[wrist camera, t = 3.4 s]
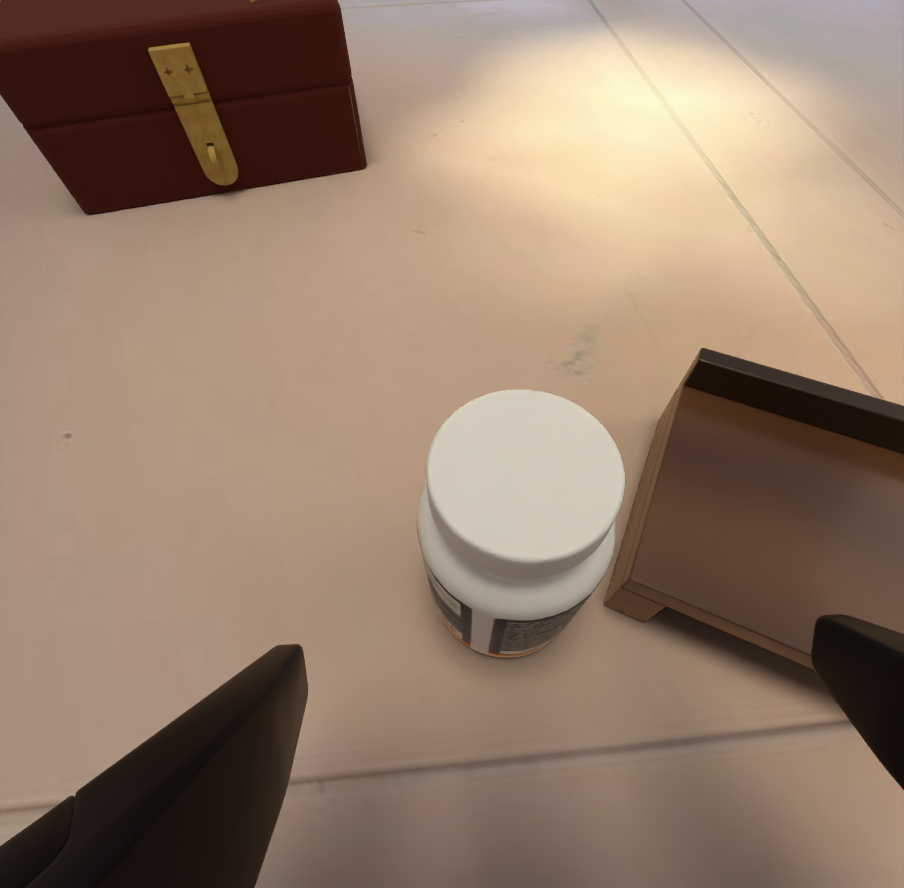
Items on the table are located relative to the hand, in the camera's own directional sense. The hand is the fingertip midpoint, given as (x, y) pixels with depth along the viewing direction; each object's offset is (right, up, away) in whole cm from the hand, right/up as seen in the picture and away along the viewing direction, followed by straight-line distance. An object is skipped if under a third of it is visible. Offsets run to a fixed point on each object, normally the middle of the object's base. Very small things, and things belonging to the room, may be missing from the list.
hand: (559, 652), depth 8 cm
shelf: (+13, -1, +11) cm, 17 cm away
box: (-20, +28, +31) cm, 47 cm away
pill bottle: (0, -2, +11) cm, 12 cm away
